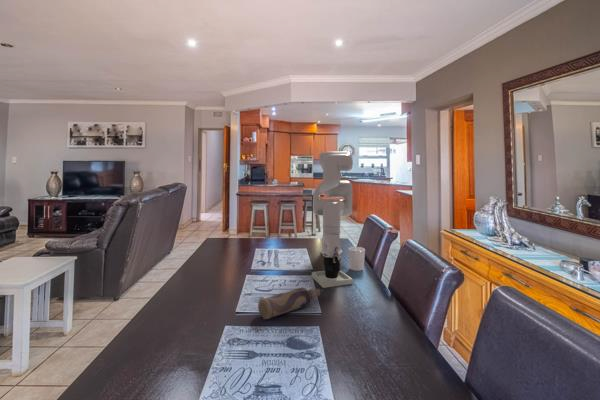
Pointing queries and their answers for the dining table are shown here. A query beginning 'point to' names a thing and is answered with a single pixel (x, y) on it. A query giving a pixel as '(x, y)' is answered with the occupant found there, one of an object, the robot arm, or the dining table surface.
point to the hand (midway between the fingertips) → (331, 267)
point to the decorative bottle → (286, 302)
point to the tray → (341, 280)
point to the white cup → (356, 258)
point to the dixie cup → (329, 268)
